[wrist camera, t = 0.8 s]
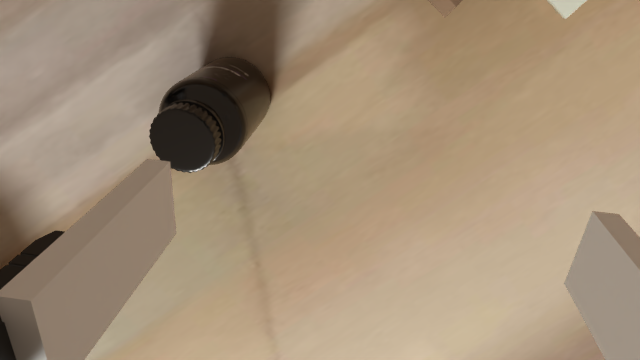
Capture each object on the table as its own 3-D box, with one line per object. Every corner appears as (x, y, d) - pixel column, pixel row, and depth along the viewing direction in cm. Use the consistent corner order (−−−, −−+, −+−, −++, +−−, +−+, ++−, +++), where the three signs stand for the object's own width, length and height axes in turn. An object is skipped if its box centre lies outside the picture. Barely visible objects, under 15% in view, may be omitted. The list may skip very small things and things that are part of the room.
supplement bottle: (248, 42, 40) (198, 75, 29) (284, 112, 42) (251, 166, 32) (183, 74, 42) (115, 116, 31) (222, 139, 44) (170, 199, 34)
